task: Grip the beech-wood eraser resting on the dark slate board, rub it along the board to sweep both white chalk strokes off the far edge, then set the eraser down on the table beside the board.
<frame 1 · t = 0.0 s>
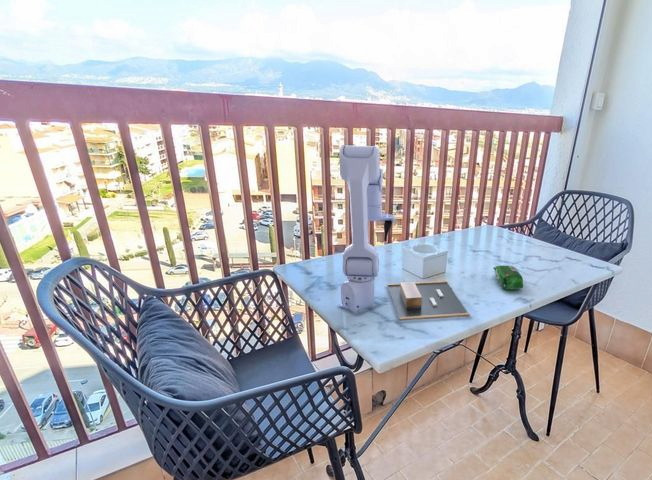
hand: (374, 239, 142), 11 cm above the table, tool pointing down, fingers open, 7 cm apart
chalk stroke 1: (433, 302, 119), point 1 cm above the table, touching slate board
eraser: (410, 299, 121), point 1 cm above the table, touching slate board
snack package: (506, 284, 136), on the table
chalk stroke 2: (439, 294, 125), point 1 cm above the table, touching slate board
slate board: (425, 301, 122), on the table
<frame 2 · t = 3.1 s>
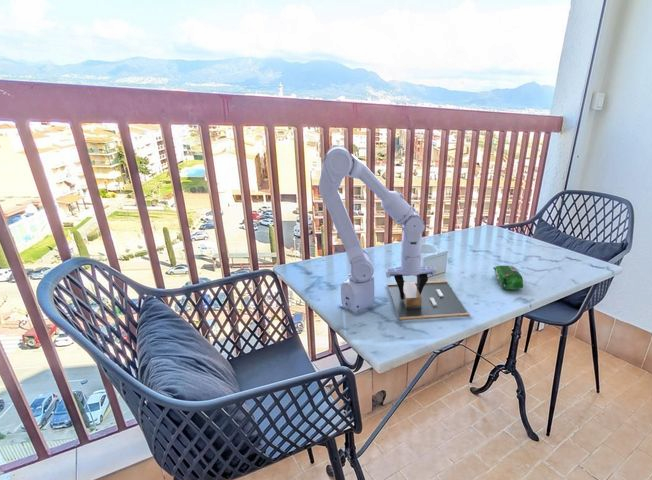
hand: (410, 297, 121), 2 cm above the table, tool pointing down, fingers closed on eraser, 4 cm apart
eraser: (410, 299, 121), point 1 cm above the table, touching gripper, slate board
everything else where it was.
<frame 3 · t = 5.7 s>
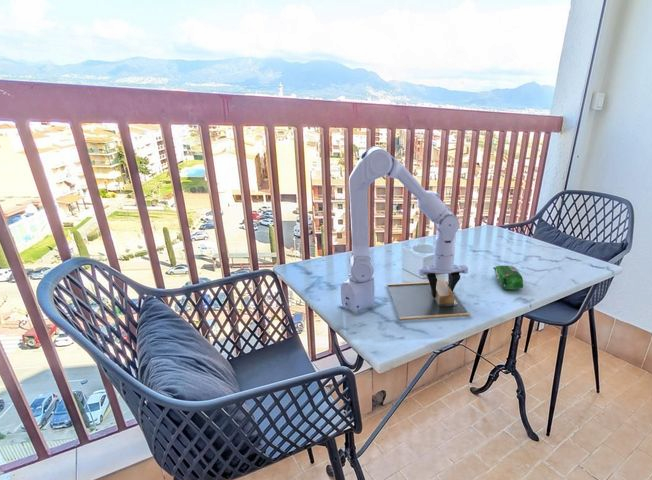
hand: (441, 295, 122), 2 cm above the table, tool pointing down, fingers closed on eraser, 4 cm apart
chalk stroke 1: (453, 301, 120), point 1 cm above the table, touching eraser, slate board
eraser: (441, 297, 122), point 1 cm above the table, touching chalk stroke 1, chalk stroke 2, gripper
chalk stroke 2: (447, 293, 125), point 1 cm above the table, touching eraser
everything else where it was.
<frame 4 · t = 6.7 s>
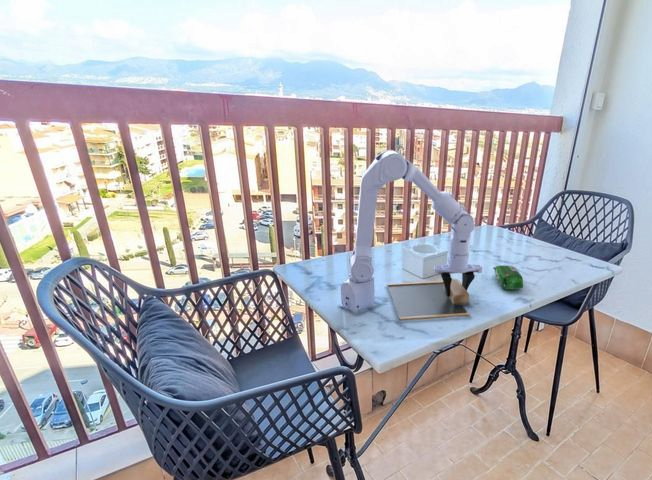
hand: (455, 294, 123), 2 cm above the table, tool pointing down, fingers closed on eraser, 4 cm apart
chalk stroke 1: (466, 302, 121), on the table, tilted 180°
eraser: (455, 297, 123), point 1 cm above the table, touching gripper
chalk stroke 2: (460, 293, 126), on the table, tilted 180°
everything else where it was.
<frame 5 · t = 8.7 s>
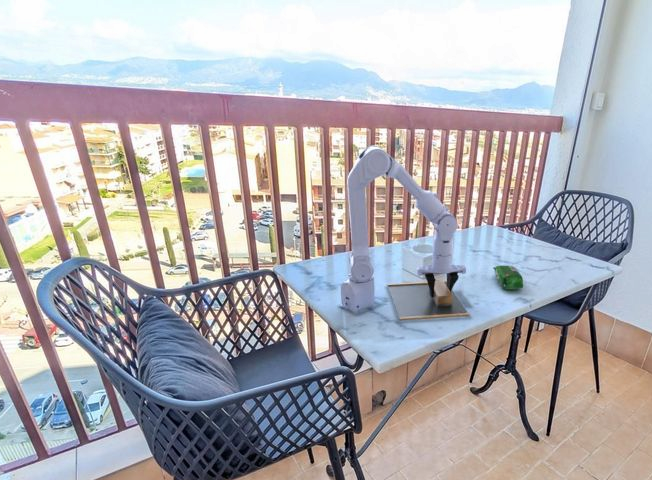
hand: (439, 295, 122), 2 cm above the table, tool pointing down, fingers closed on eraser, 4 cm apart
eraser: (439, 297, 122), point 1 cm above the table, touching gripper
everything else where it was.
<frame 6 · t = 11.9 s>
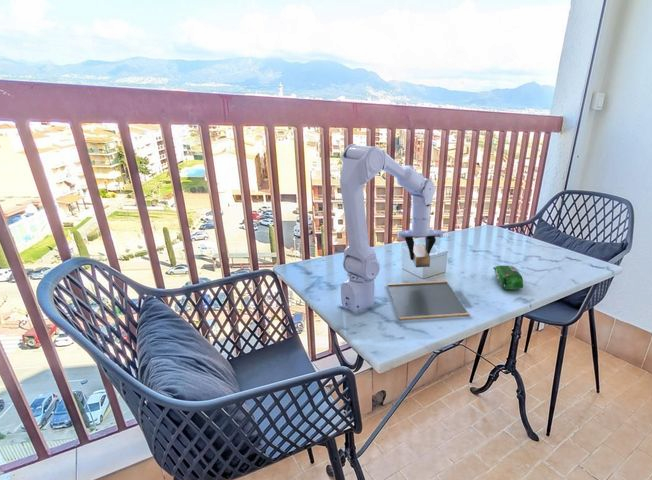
hand: (419, 258, 131), 8 cm above the table, tool pointing down, fingers closed on eraser, 4 cm apart
eraser: (419, 260, 132), point 8 cm above the table, touching gripper
everything else where it was.
when the fingers open (1 cm above the table, at t = 14.6 s): eraser stays where it is, on the table.
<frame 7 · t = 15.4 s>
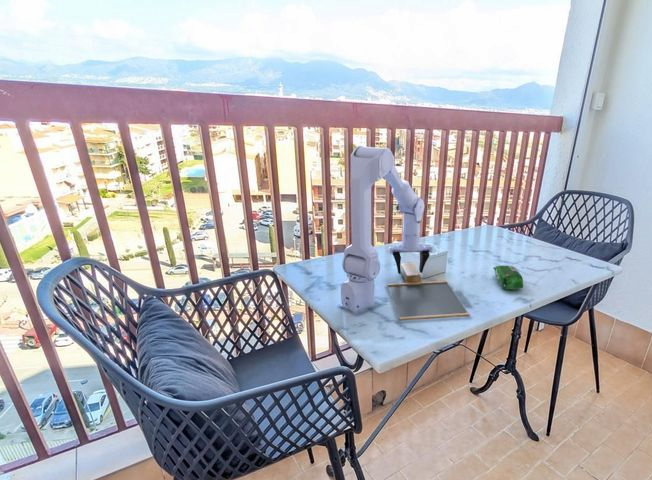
hand: (410, 272, 137), 2 cm above the table, tool pointing down, fingers open, 7 cm apart
eraser: (410, 278, 138), on the table
everything else where it was.
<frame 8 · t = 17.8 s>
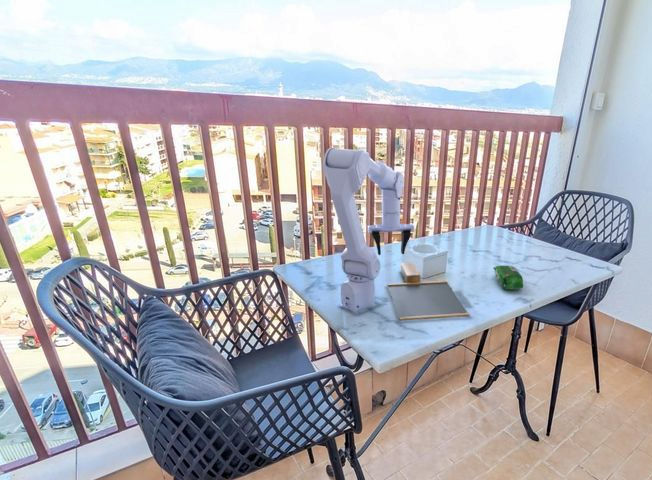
hand: (390, 253, 129), 10 cm above the table, tool pointing down, fingers open, 7 cm apart
nothing on the table moved.
at the end: chalk stroke 1 point 0.5 cm above the table; chalk stroke 2 point 0.5 cm above the table; eraser inside the target area (0.1 cm from its centre), on the table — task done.
